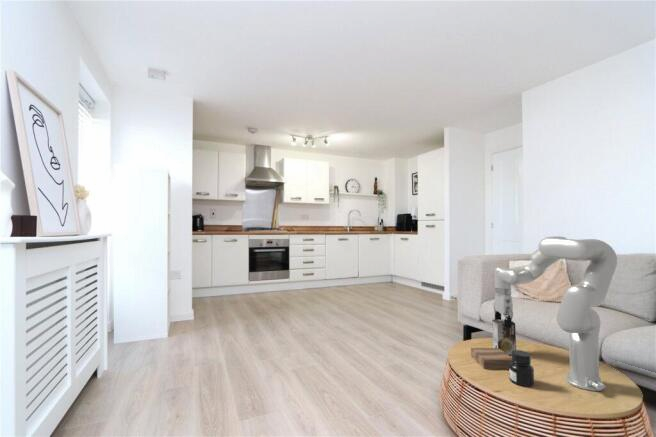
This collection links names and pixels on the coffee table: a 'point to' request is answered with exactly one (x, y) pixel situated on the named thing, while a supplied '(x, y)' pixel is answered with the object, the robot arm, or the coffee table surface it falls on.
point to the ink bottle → (521, 369)
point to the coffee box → (504, 336)
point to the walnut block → (491, 358)
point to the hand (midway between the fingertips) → (502, 324)
